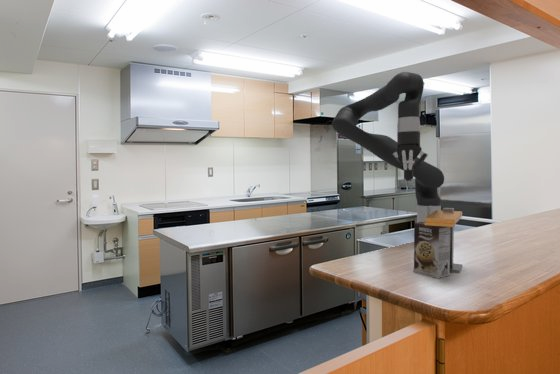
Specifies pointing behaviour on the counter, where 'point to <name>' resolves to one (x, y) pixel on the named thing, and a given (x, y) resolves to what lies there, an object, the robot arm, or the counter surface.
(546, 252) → the counter surface
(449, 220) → the grey orange pedestal
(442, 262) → the coffee box
